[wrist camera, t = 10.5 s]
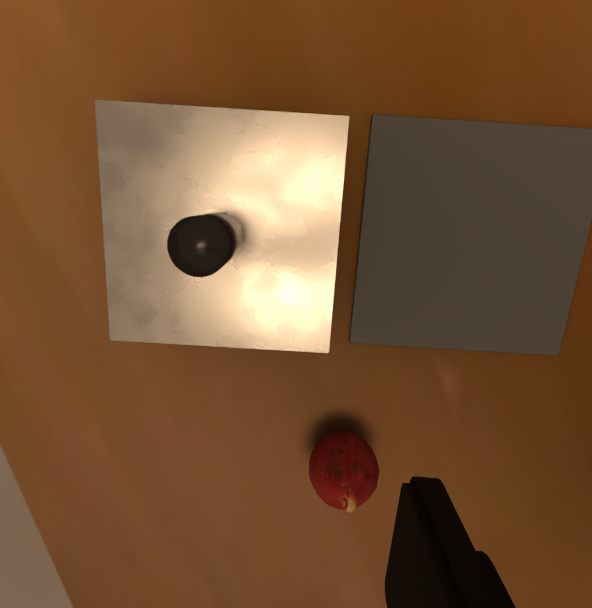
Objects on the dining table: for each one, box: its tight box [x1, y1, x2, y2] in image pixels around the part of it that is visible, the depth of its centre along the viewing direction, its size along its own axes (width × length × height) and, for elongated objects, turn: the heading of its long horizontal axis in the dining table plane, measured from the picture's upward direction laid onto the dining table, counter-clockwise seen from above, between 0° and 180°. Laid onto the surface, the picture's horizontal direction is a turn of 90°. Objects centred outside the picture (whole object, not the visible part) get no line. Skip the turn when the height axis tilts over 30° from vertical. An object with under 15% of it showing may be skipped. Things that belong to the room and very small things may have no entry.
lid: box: [95, 100, 349, 353], centre depth 23 cm, size 15×15×7 cm
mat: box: [349, 115, 592, 355], centre depth 32 cm, size 18×18×1 cm
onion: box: [309, 431, 379, 513], centre depth 33 cm, size 6×6×8 cm
